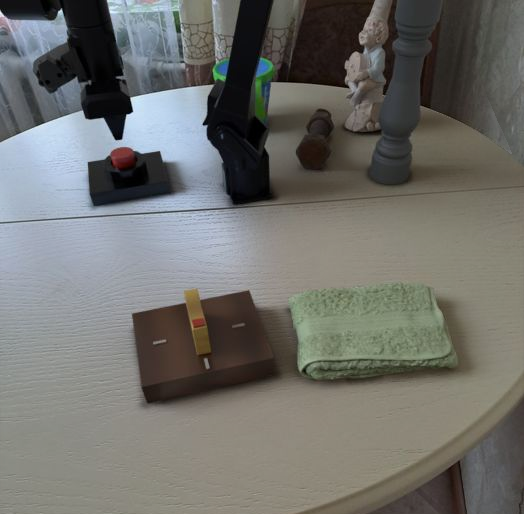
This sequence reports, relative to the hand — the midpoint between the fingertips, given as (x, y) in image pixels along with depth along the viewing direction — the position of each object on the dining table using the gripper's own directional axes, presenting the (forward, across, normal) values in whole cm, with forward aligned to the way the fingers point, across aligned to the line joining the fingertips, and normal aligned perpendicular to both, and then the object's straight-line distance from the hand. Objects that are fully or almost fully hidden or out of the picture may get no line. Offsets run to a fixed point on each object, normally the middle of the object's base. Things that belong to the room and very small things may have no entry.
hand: (118, 139), depth 76 cm
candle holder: (+8, +10, +41) cm, 43 cm away
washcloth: (+8, +42, +24) cm, 49 cm away
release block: (+8, 0, 0) cm, 8 cm away
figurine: (+8, -7, +44) cm, 45 cm away
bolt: (+8, -2, +33) cm, 34 cm away
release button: (+4, 0, 0) cm, 4 cm away
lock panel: (+8, +39, +5) cm, 40 cm away
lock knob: (+4, +39, +5) cm, 40 cm away
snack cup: (+8, -14, +23) cm, 28 cm away
